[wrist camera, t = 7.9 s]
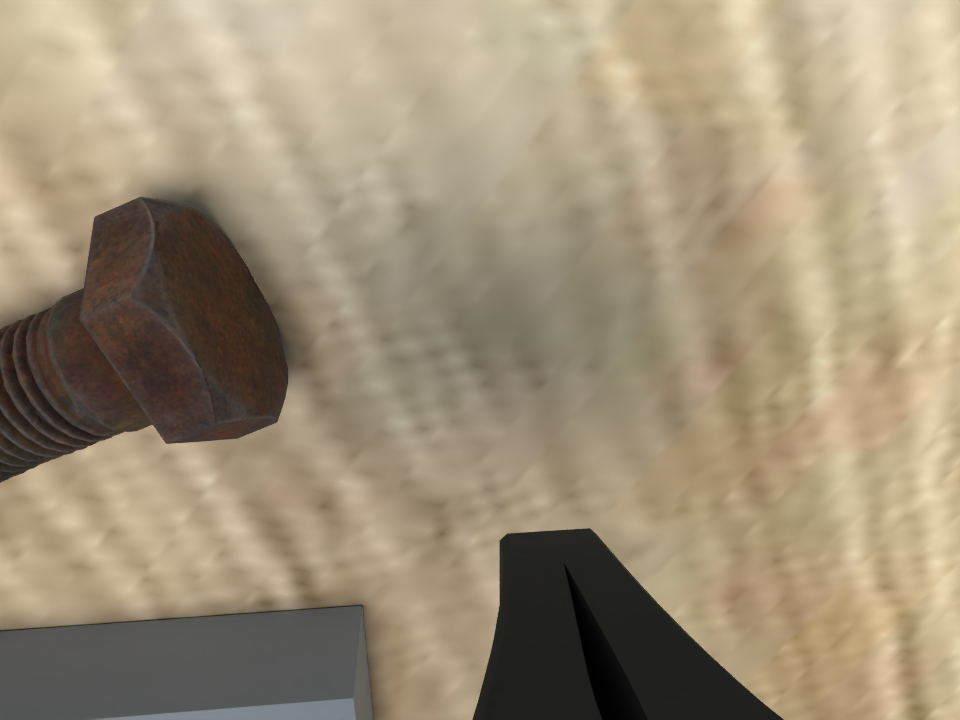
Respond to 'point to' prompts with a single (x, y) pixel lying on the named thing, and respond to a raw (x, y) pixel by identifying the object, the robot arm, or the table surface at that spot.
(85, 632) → the grey compartment tray
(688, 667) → the robot arm
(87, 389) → the bolt
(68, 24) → the table surface
